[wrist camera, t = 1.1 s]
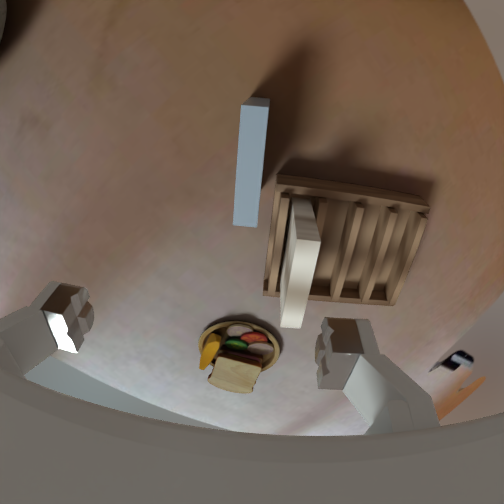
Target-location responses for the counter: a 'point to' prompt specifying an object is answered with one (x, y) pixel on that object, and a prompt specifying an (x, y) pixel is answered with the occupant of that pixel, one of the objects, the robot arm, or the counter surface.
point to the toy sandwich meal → (237, 354)
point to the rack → (339, 244)
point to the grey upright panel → (250, 160)
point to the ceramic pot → (2, 16)
